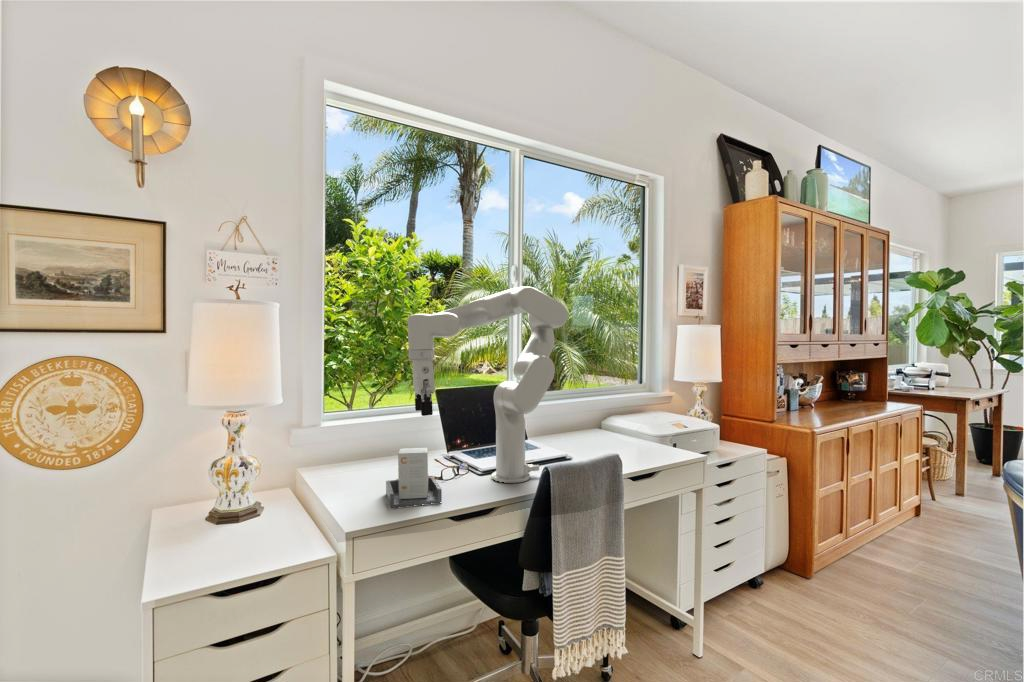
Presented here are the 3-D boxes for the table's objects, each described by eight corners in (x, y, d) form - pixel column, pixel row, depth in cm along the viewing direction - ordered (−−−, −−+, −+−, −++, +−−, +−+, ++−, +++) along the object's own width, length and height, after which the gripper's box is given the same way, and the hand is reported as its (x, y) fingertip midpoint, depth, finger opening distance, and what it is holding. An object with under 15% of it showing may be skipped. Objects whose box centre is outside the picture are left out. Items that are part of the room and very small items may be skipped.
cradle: (433, 489, 154) (433, 475, 154) (441, 503, 141) (441, 487, 141) (386, 494, 149) (385, 479, 149) (390, 508, 137) (390, 493, 137)
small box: (428, 491, 149) (428, 447, 149) (427, 498, 142) (427, 452, 142) (400, 492, 148) (399, 448, 147) (398, 499, 141) (397, 453, 141)
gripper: (440, 356, 144) (442, 416, 145) (428, 353, 160) (430, 407, 161) (414, 357, 141) (416, 418, 142) (404, 354, 158) (406, 409, 158)
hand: (423, 412), depth 151 cm, fingers open, 9 cm apart
